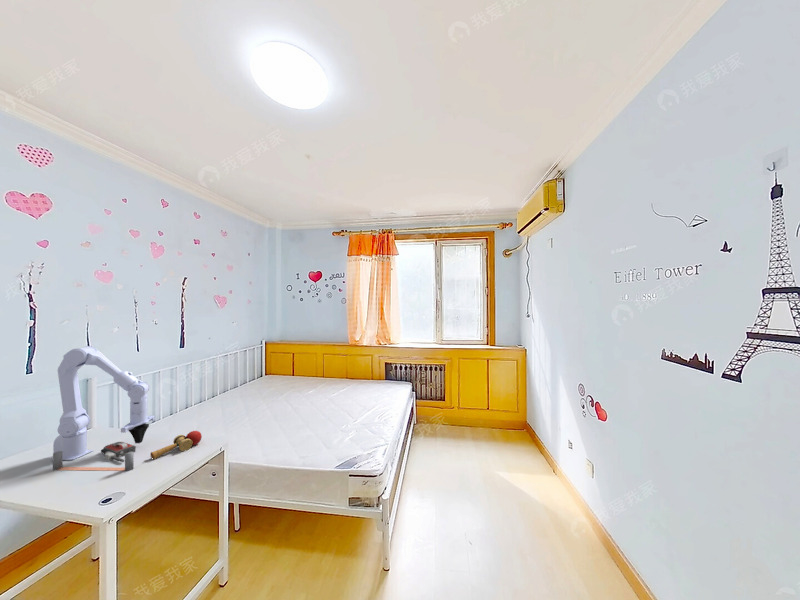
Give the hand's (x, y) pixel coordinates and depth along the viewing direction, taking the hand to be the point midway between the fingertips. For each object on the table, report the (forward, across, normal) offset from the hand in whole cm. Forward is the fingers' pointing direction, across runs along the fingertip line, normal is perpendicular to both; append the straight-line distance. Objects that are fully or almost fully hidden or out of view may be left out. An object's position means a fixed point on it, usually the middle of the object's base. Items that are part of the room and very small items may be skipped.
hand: (138, 442), depth 134 cm
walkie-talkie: (+2, -8, 0) cm, 8 cm away
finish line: (+1, -19, 0) cm, 19 cm away
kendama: (+2, -4, -21) cm, 21 cm away
